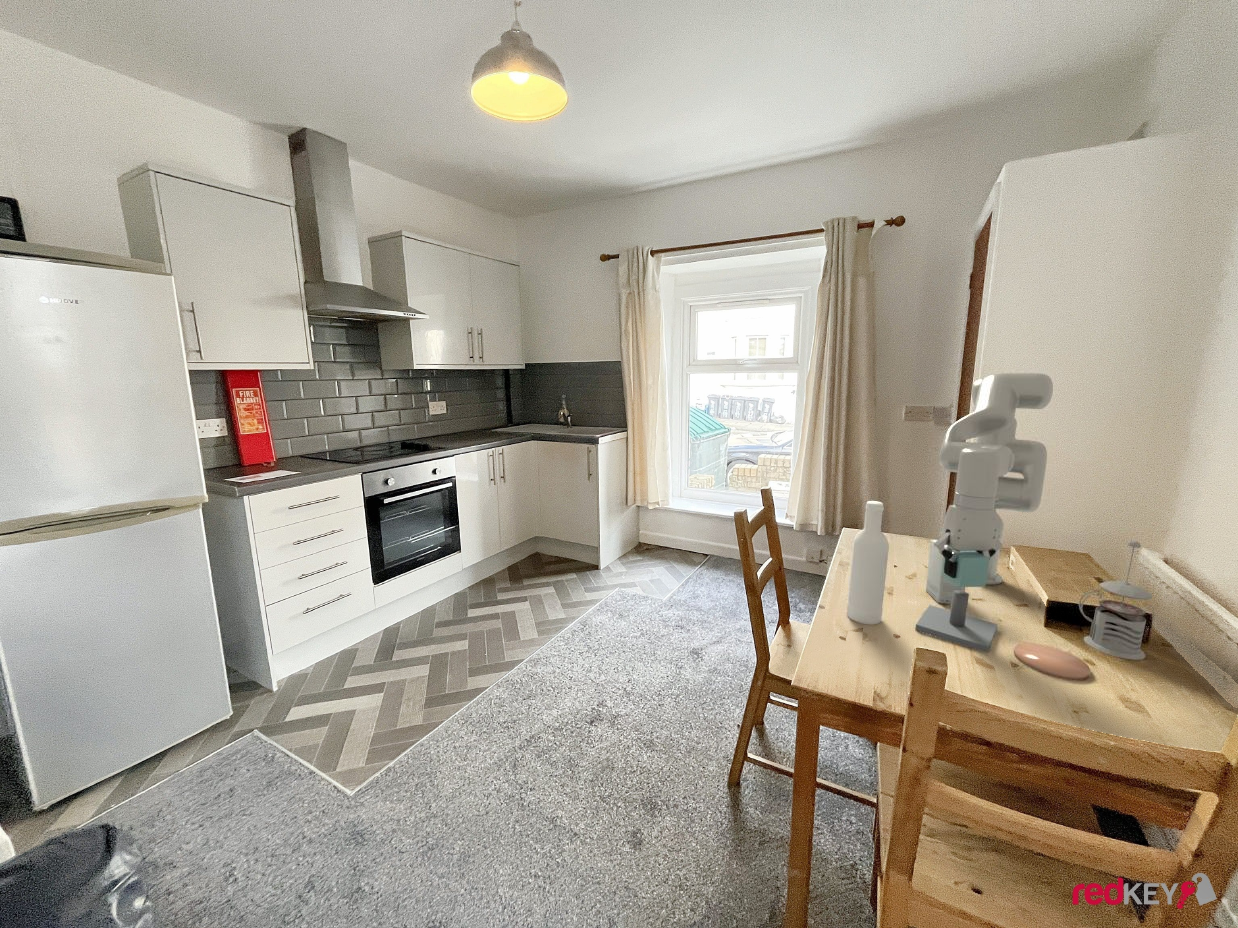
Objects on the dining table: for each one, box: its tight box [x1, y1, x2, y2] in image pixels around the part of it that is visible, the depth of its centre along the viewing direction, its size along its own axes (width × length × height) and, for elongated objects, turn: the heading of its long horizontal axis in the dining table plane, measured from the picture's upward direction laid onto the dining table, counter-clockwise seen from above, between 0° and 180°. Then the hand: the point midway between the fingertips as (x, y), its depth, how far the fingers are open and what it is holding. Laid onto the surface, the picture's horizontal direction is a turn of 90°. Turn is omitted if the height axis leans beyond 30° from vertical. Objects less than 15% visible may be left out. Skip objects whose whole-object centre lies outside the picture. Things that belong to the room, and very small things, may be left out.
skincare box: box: [925, 539, 966, 605], centre depth 130 cm, size 8×7×16 cm
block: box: [942, 550, 989, 588], centre depth 112 cm, size 6×6×7 cm
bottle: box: [846, 500, 890, 626], centre depth 118 cm, size 8×8×30 cm
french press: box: [1078, 540, 1153, 660], centre depth 105 cm, size 10×12×25 cm
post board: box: [915, 590, 998, 654], centre depth 113 cm, size 14×14×10 cm
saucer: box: [1013, 642, 1091, 681], centre depth 101 cm, size 12×12×1 cm
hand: (963, 574), depth 112 cm, fingers closed on block, 5 cm apart
